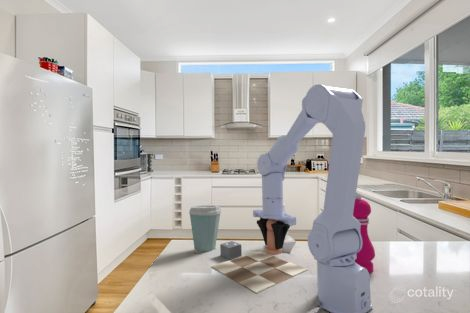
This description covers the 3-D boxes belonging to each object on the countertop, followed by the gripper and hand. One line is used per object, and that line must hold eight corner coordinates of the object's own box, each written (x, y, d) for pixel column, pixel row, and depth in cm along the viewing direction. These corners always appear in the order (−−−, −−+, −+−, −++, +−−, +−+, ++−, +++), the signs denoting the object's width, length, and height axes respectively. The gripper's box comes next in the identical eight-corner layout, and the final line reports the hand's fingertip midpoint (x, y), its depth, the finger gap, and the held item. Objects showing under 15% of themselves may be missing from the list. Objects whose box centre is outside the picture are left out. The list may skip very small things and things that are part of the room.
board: (308, 273, 66) (308, 269, 66) (256, 298, 55) (256, 292, 55) (259, 254, 80) (259, 250, 81) (211, 270, 69) (211, 266, 69)
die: (241, 259, 77) (241, 244, 77) (229, 263, 74) (229, 247, 74) (232, 255, 80) (232, 240, 81) (220, 259, 78) (220, 243, 78)
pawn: (284, 252, 71) (284, 218, 71) (273, 255, 68) (273, 220, 69) (272, 248, 75) (272, 216, 75) (261, 251, 72) (261, 217, 72)
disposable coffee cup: (186, 248, 88) (185, 204, 88) (217, 243, 92) (216, 201, 92) (193, 259, 78) (192, 209, 78) (226, 253, 82) (225, 206, 82)
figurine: (274, 256, 79) (272, 206, 79) (268, 245, 88) (267, 201, 89) (297, 254, 79) (296, 206, 80) (289, 244, 89) (287, 201, 89)
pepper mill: (379, 275, 64) (377, 195, 65) (348, 273, 66) (346, 195, 66) (370, 263, 72) (368, 191, 72) (342, 262, 73) (340, 191, 73)
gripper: (244, 196, 75) (245, 243, 75) (282, 202, 64) (284, 257, 63) (262, 194, 79) (263, 238, 79) (300, 199, 68) (302, 250, 68)
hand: (273, 246), depth 72 cm, fingers closed on pawn, 3 cm apart
